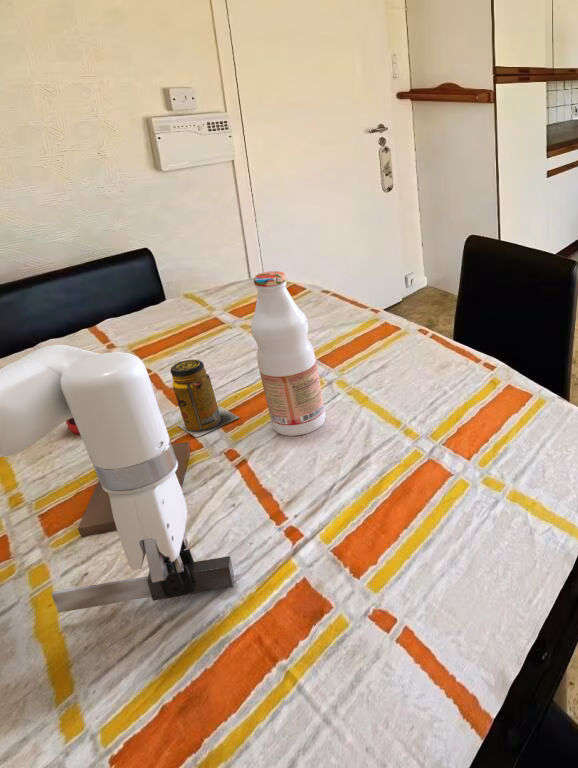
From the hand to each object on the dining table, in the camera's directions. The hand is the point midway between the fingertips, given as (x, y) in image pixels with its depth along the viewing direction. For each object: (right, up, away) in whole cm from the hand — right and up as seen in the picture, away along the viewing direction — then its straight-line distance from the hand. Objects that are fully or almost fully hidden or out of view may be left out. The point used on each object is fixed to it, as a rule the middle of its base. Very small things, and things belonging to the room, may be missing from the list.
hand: (182, 584), depth 77 cm
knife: (-3, -1, -1) cm, 3 cm away
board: (-17, +8, +20) cm, 28 cm away
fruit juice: (+2, +17, +37) cm, 41 cm away
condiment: (-15, +18, +38) cm, 44 cm away
